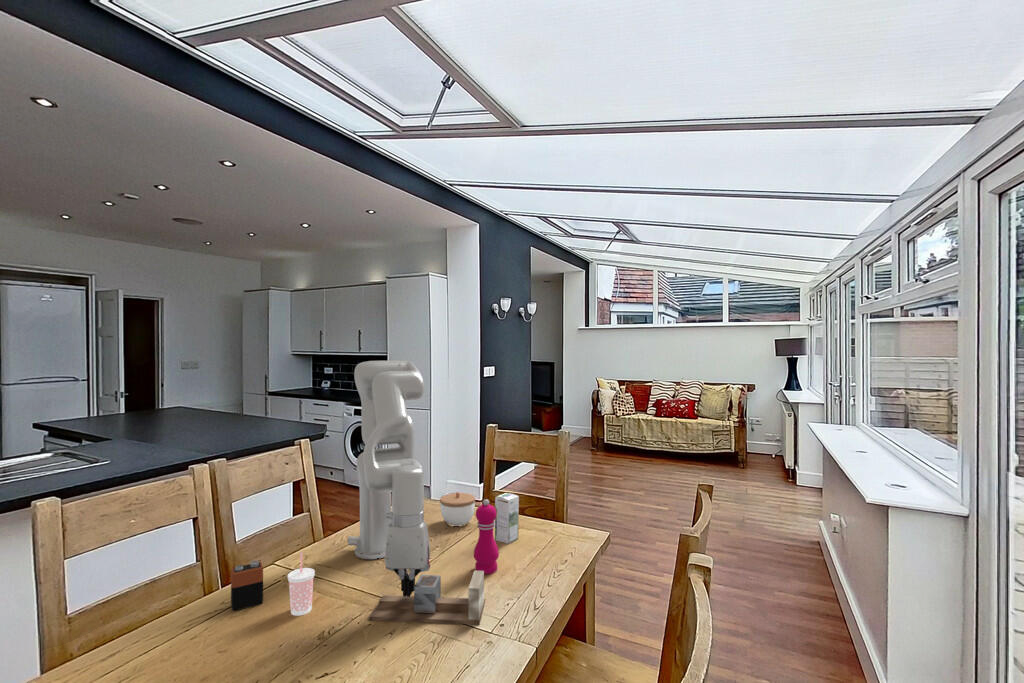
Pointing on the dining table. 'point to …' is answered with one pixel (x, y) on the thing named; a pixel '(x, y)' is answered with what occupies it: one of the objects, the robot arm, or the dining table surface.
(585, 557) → the dining table surface
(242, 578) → the battery
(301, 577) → the beverage cup
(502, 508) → the syrup box
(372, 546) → the robot arm
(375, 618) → the rail
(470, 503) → the lidded bowl
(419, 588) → the block
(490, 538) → the pepper mill
